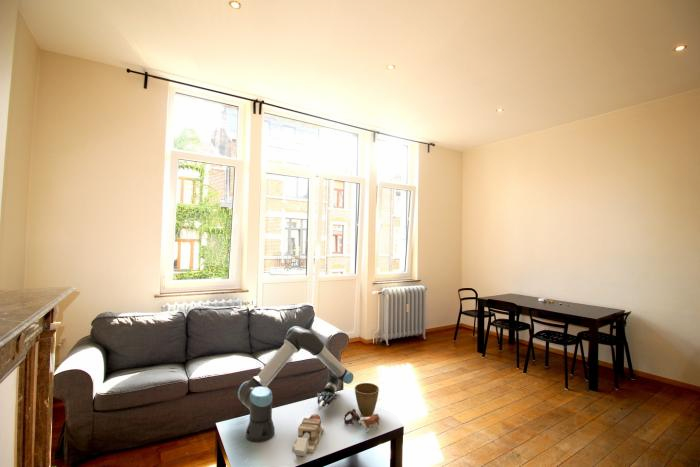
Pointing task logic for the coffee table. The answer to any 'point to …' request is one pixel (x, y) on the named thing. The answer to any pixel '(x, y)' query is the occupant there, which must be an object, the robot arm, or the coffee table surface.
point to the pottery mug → (354, 417)
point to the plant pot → (366, 398)
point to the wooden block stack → (308, 433)
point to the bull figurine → (369, 421)
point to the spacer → (301, 446)
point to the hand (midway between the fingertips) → (319, 408)
